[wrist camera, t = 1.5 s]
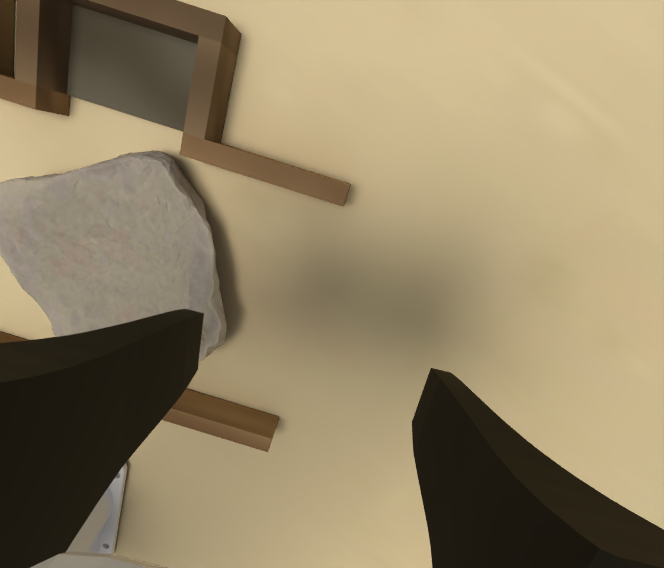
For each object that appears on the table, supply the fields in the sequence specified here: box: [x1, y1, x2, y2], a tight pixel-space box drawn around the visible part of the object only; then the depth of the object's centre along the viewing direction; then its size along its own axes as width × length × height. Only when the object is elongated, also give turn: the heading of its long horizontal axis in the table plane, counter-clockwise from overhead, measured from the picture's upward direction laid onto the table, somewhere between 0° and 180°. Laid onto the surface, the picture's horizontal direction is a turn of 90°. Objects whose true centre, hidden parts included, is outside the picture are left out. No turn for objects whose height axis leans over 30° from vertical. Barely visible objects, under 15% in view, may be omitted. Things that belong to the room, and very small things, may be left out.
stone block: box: [0, 151, 227, 361], centre depth 20 cm, size 12×5×10 cm
